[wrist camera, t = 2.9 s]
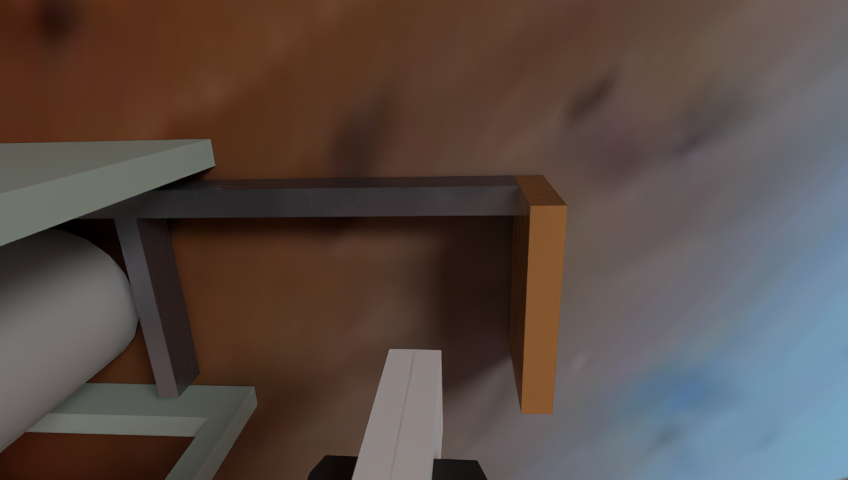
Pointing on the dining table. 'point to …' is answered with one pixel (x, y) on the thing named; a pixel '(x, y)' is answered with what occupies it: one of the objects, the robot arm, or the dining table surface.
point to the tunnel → (86, 192)
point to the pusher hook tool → (350, 197)
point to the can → (56, 323)
